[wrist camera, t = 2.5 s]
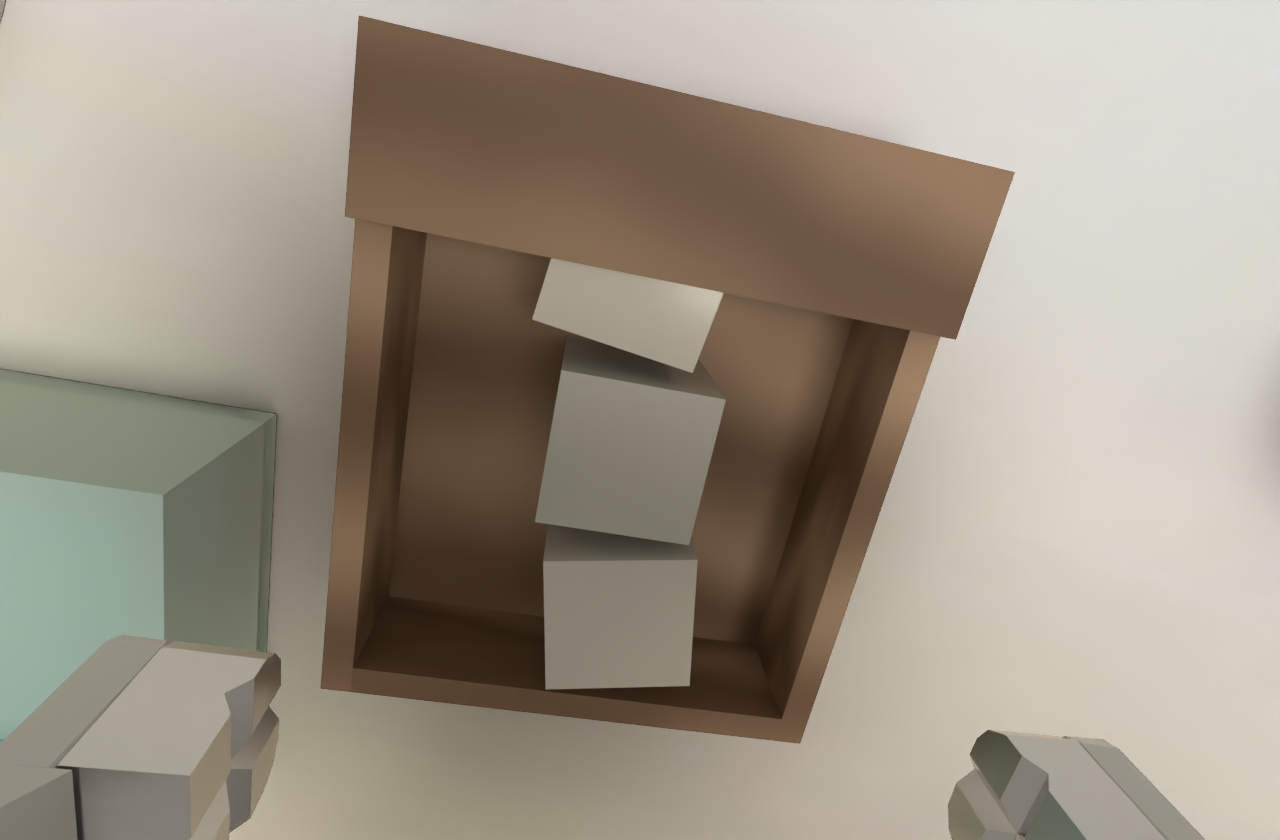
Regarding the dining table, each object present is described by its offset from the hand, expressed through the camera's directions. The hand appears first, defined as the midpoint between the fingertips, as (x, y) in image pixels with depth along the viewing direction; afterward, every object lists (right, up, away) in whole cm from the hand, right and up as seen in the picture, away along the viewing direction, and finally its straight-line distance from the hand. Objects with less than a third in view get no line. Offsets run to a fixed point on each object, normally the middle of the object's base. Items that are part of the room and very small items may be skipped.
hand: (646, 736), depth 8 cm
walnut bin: (-1, +4, +13) cm, 14 cm away
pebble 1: (0, +8, +11) cm, 14 cm away
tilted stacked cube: (-1, +4, +13) cm, 13 cm away
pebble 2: (-1, -1, +14) cm, 14 cm away
